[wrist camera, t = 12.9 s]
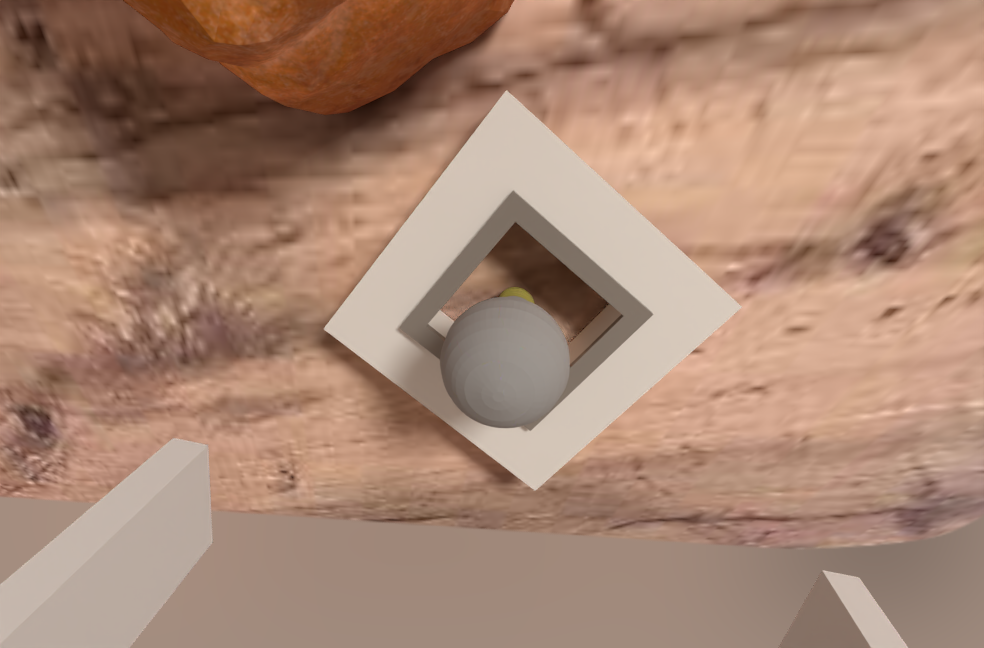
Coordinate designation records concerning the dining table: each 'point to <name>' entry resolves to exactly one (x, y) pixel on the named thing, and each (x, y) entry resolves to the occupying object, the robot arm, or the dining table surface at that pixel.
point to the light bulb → (505, 361)
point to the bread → (322, 42)
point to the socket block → (569, 237)
